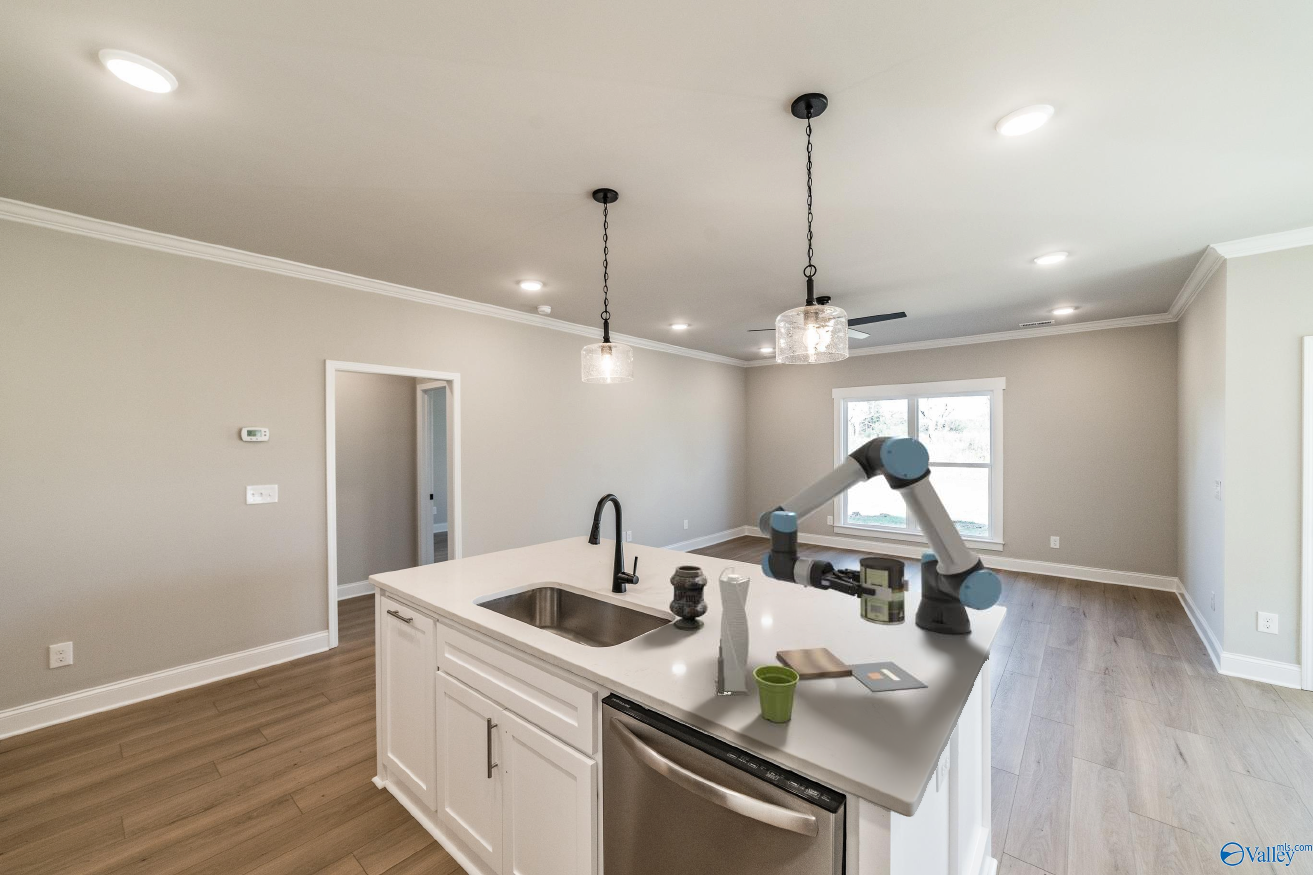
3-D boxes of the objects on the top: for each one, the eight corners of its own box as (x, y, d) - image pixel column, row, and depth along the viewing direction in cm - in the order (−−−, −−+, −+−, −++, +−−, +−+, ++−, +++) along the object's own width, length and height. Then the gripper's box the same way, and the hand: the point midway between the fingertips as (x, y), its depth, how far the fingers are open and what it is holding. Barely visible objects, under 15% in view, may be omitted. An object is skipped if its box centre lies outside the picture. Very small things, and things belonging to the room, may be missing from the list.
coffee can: (899, 612, 132) (898, 557, 132) (910, 627, 122) (909, 567, 122) (856, 610, 134) (856, 555, 134) (863, 624, 124) (863, 565, 124)
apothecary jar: (714, 622, 166) (714, 566, 166) (696, 634, 156) (696, 574, 156) (681, 616, 172) (681, 561, 173) (662, 627, 162) (662, 569, 162)
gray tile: (891, 662, 136) (891, 661, 136) (927, 687, 122) (927, 686, 122) (841, 666, 134) (841, 665, 134) (873, 691, 120) (873, 690, 120)
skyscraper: (714, 679, 127) (714, 564, 127) (747, 679, 127) (747, 564, 127) (717, 696, 119) (717, 573, 119) (753, 696, 118) (752, 573, 119)
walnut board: (825, 652, 143) (825, 647, 143) (852, 674, 129) (852, 669, 129) (776, 655, 140) (776, 651, 140) (799, 678, 127) (799, 673, 127)
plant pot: (748, 705, 114) (748, 665, 114) (790, 703, 115) (790, 663, 115) (760, 728, 105) (760, 685, 105) (806, 726, 106) (805, 683, 106)
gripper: (835, 579, 149) (917, 596, 133) (792, 596, 133) (880, 617, 117) (835, 553, 149) (917, 566, 133) (792, 566, 133) (880, 583, 117)
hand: (899, 590), depth 125 cm, fingers closed on coffee can, 10 cm apart
